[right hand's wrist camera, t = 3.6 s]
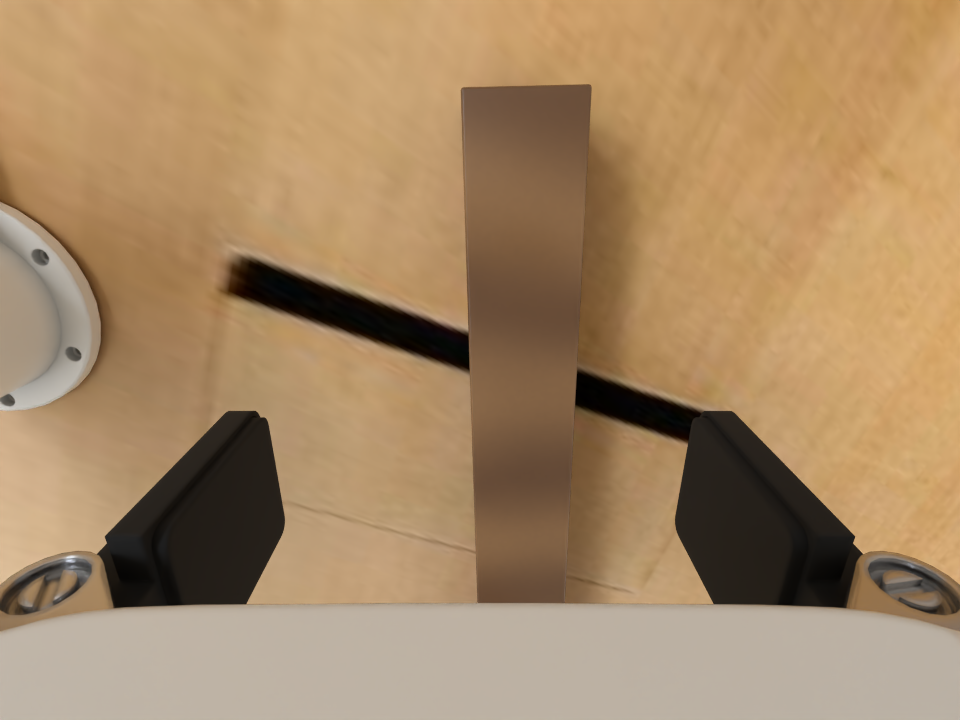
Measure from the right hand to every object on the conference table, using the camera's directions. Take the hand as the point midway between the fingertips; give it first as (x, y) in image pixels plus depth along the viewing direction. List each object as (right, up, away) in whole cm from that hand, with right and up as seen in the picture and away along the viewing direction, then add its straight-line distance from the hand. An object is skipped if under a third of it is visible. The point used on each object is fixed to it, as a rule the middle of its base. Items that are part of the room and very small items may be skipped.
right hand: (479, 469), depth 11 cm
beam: (+2, -16, +27) cm, 31 cm away
